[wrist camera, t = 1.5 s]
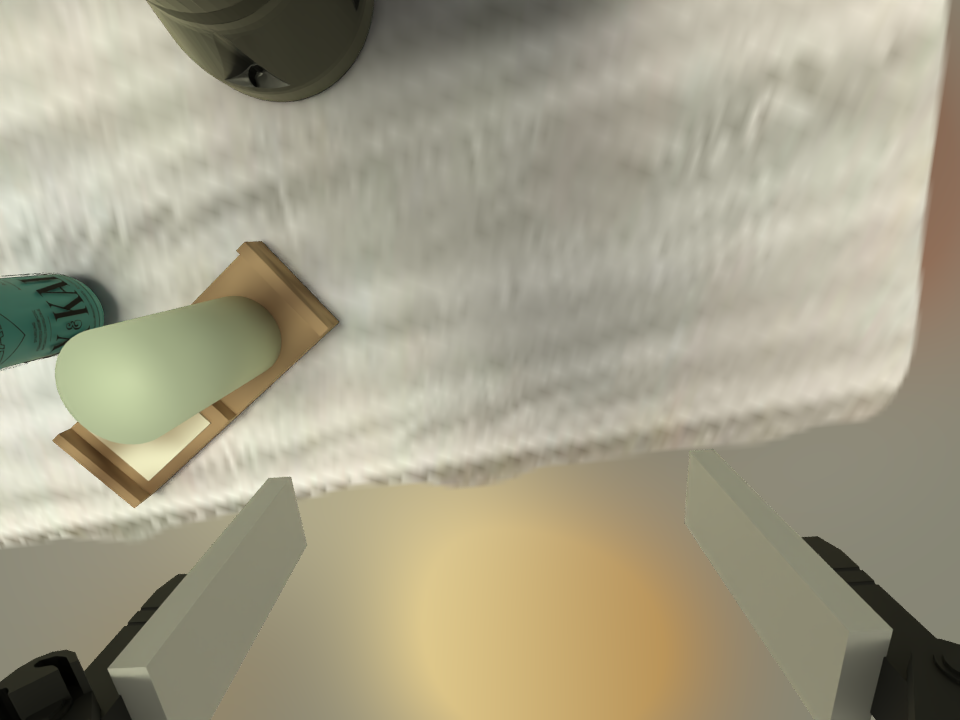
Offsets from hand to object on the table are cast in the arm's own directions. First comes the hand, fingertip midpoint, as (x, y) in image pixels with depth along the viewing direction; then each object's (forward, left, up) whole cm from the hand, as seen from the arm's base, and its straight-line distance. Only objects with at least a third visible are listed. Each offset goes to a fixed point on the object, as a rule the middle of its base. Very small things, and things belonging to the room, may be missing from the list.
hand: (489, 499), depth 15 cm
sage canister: (-14, -16, -24) cm, 32 cm away
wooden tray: (-14, -22, -25) cm, 36 cm away
